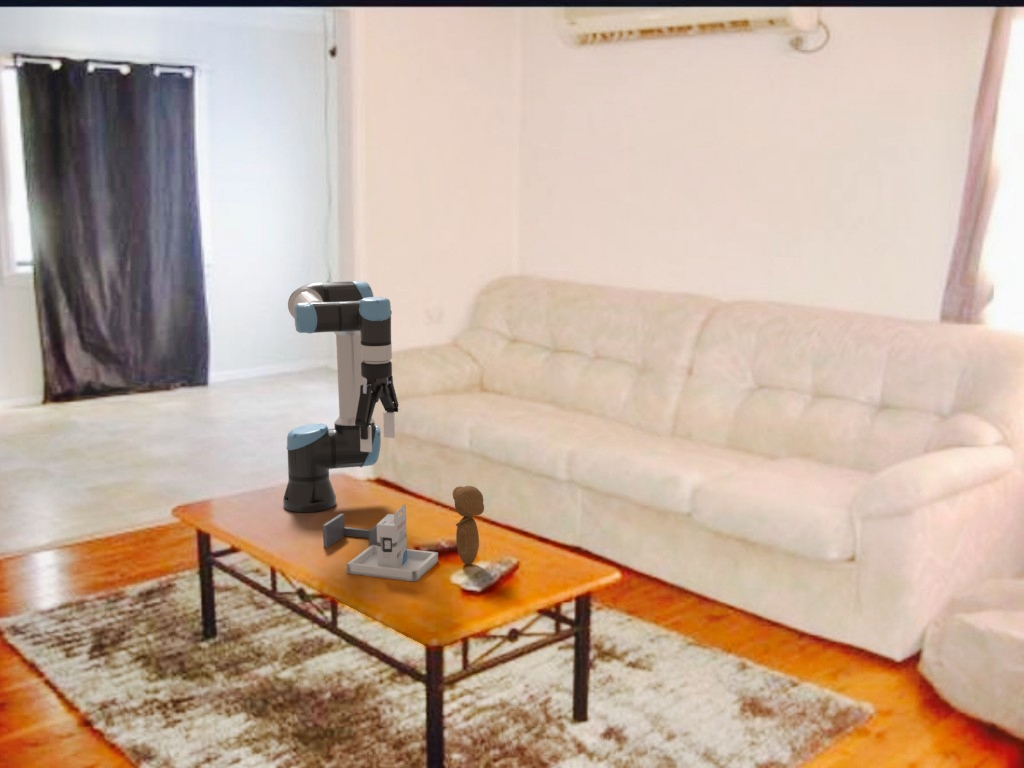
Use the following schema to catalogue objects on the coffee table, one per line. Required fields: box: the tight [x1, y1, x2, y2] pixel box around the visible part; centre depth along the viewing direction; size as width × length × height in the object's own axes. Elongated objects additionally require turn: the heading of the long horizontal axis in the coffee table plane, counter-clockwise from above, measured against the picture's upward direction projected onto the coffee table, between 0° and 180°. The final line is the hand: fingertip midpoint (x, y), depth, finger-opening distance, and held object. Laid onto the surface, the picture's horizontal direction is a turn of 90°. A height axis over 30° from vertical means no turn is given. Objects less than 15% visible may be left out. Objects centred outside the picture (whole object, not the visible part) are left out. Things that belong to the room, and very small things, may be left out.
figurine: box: [452, 485, 485, 566], centre depth 253 cm, size 9×7×20 cm
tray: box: [346, 545, 439, 582], centre depth 253 cm, size 14×18×2 cm
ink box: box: [376, 503, 408, 569], centre depth 251 cm, size 8×5×15 cm, turn 167°
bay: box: [322, 513, 377, 549], centre depth 269 cm, size 11×14×6 cm
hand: (378, 444), depth 258 cm, fingers open, 13 cm apart
